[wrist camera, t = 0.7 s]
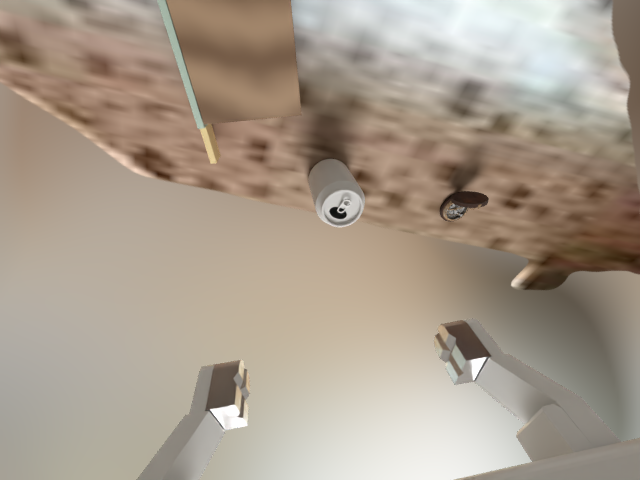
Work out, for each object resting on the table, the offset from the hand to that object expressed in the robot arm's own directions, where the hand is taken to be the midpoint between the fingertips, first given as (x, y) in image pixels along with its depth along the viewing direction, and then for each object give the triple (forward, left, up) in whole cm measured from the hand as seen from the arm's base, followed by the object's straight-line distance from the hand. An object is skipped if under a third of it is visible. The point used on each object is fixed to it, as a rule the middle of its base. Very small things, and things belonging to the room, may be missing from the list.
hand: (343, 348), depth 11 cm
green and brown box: (-10, -5, -38) cm, 40 cm away
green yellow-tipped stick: (-17, -12, -38) cm, 43 cm away
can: (+9, +6, -38) cm, 40 cm away
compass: (+18, +33, -38) cm, 54 cm away
